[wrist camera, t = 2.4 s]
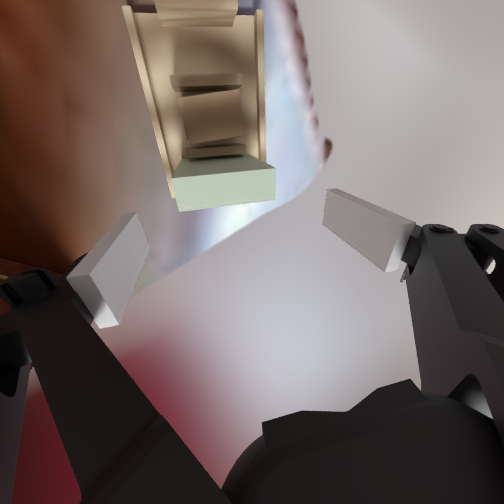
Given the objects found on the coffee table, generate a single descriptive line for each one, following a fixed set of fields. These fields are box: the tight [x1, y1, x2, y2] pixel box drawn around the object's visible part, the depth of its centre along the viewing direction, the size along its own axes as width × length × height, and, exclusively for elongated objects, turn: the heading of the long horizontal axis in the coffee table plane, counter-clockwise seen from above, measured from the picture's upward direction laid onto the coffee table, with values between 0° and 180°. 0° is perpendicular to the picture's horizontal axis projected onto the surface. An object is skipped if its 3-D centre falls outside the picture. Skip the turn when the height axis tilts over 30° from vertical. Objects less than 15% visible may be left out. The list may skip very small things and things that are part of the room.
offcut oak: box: [178, 89, 245, 145], centre depth 25 cm, size 4×7×3 cm
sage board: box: [171, 153, 276, 212], centre depth 26 cm, size 3×10×14 cm, turn 93°
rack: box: [122, 0, 266, 198], centre depth 27 cm, size 20×15×7 cm
